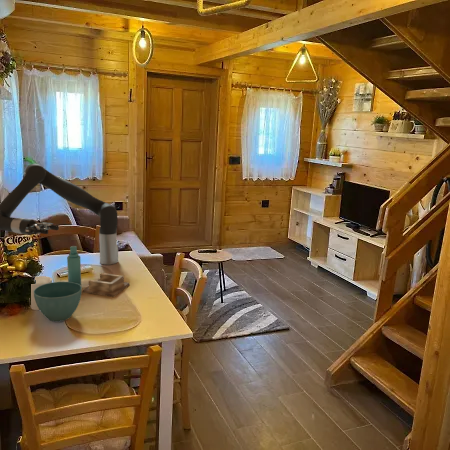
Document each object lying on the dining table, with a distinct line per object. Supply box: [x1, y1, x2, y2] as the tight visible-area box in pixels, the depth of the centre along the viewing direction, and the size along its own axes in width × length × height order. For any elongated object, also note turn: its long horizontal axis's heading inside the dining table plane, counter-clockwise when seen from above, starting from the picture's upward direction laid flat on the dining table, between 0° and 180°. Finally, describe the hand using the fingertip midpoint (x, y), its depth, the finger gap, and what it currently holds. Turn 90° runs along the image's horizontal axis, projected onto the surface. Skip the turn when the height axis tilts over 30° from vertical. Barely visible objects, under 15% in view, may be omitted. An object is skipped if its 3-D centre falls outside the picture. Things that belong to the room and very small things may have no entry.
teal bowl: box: [34, 281, 83, 323], centre depth 185 cm, size 18×18×12 cm
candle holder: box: [29, 275, 53, 311], centre depth 195 cm, size 10×10×12 cm
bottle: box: [66, 245, 82, 286], centre depth 221 cm, size 6×6×19 cm
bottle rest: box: [82, 272, 130, 298], centre depth 219 cm, size 16×16×5 cm
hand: (53, 229), depth 220 cm, fingers open, 8 cm apart
